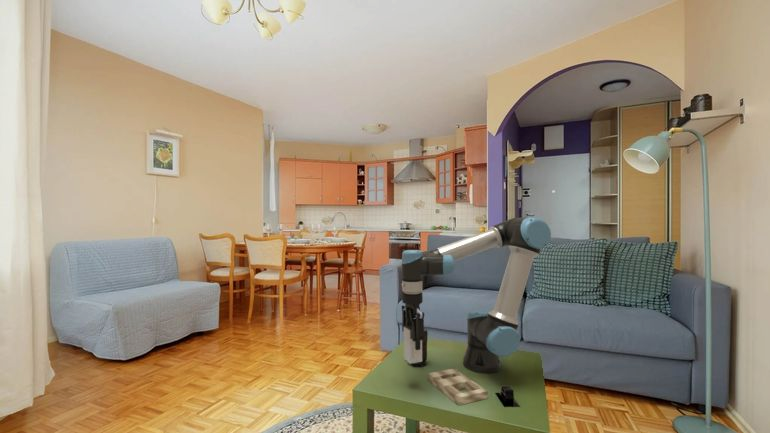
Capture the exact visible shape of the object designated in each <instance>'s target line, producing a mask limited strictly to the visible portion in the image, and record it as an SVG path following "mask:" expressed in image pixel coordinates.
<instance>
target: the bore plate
mask: <svg viewBox="0 0 770 433" xmlns="http://www.w3.org/2000/svg"><path fill="white" fill-rule="evenodd" d="M427 381H429V383H431V384H432V385H433V386H434V387H436V388H437V389H438V390H439V391H440V392H442V393H443V394H444V395H445V396H447V397H448V398H449V399H450V400H452V401H453V402H454V403H455V404H456V405H458V406H461V405H466V404H469V403H474V402H478V401H483V400H486V399H488V394H489V392H488V390H487V389H485V388H484V387H483V386H481V385H479V384H478V383H477V382H475V381H473V380H472V379H470V378H469V377H467V376H466V375H465V374H463V373H461V372H460V371H458V370H457V369H456V368H450V369H444V370H437V371H434V372H428V373H427ZM460 390H467V391H465V392H461V391H460Z"/></svg>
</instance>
